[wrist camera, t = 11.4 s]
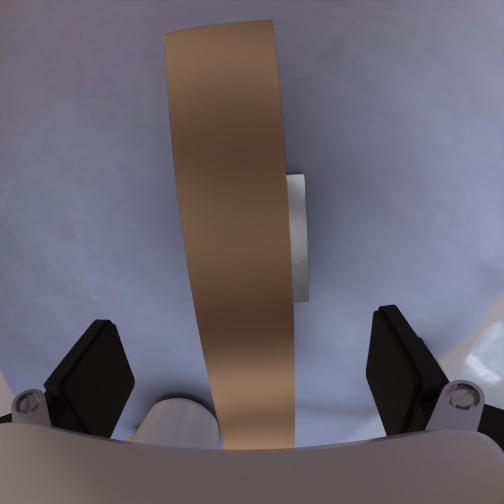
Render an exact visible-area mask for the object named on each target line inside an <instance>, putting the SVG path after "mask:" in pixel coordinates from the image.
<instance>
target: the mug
mask: <svg viewBox="0 0 504 504" xmlns="http://www.w3.org/2000/svg"><path fill="white" fill-rule="evenodd" d="M125 441H129V442H136V443H143V444H151V445H161V446H171V447H183V448H198V449H219V431H218V424H217V421H216V419H215V418H214V416H213V415H212V414H211V413H210V412H209V411H208V410H207V409H206V408H205V407H203V406H202V405H201V404H199V403H197V402H195V401H192V400H189V399H184V398H173V399H168V400H163V401H160V402H158V403H157V404H155V405H154V406H153V407H152V408H151V409H150V411H149V413H148V414H147V416H146V417H145V419H144V421H143V422H142V424H141V425H140V427H139V428H138V430H137V431H136V433H135V434H134V436H133V437H131V438H128V439H127V440H125Z"/></svg>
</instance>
